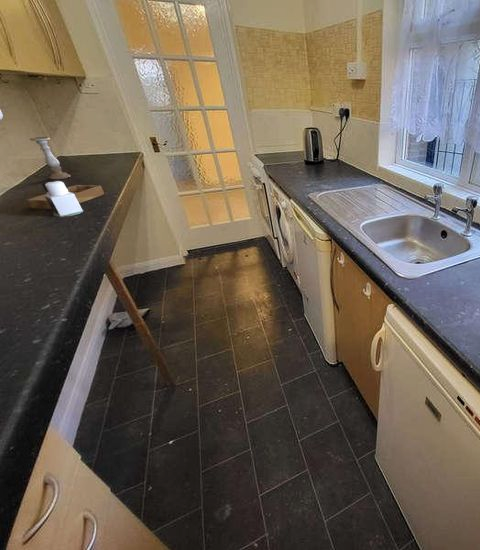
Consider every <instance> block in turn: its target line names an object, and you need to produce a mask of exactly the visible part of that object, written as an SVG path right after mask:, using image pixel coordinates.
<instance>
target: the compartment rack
mask: <svg viewBox="0 0 480 550" xmlns="http://www.w3.org/2000/svg"><path fill="white" fill-rule="evenodd" d="M67 189H68V192H71V193H73V194H74V195H75V197H76V199H77V201H78V202H79V204H81V203H84V202H87V201H90V200H92V199H95V198H98V197H100V196H103V195H105V192H104V190H103V187H102V186H101V185H85V184H84V185H83V184H74V185H71V186H68V187H67ZM44 195H47V193H44V194H41V195H38V196H37V195H36V196H34V197H30V198H27V199H25V202H26V204H27V206H28V207H29V208H30V209H39V210H52V208H51V206H50V205H49V203H48V201H47V199H46V198H45V196H44Z"/></svg>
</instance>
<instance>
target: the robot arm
mask: <svg viewBox="0 0 480 550" xmlns="http://www.w3.org/2000/svg"><path fill="white" fill-rule="evenodd" d="M3 117H4V115H3V112H2V110H1V109H0V121H2V120H3Z"/></svg>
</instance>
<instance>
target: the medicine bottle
mask: <svg viewBox="0 0 480 550" xmlns="http://www.w3.org/2000/svg"><path fill="white" fill-rule="evenodd" d="M42 187H43V189H44V191H45V193H46V194H47V195H44V194H43V195H44V196H45V198H46V199H47V201H48V203H49V205H50V206H51V208H52V209H51V210H52V212H53V214H54V213H56V214H58V215H59V216H63V215H68V214H72V213H77V212H81V211H83V212H84V209H83V208H82V206H81V203H79V202H78V201H77V199H76V197H75V195H74V194H73V193H71V192H68V189H67V188H68V187H67V185H66V184H65V182H64V181H63V180H61V179H52V180H48V181H47V180H46V181H44V182H42ZM82 209H83V210H82Z"/></svg>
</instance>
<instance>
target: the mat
mask: <svg viewBox="0 0 480 550" xmlns="http://www.w3.org/2000/svg"><path fill="white" fill-rule="evenodd" d="M82 210H83V211H81V212H77V213H72V214H68V215H63V216H59V215H58V214H56V213H54V212H53V214H52V216H54V217H57V218H64V217H65V216H66V217H72V216H75V215H80V214H81V213H83V212H84V209H83V208H82ZM66 217H65V218H66Z"/></svg>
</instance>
